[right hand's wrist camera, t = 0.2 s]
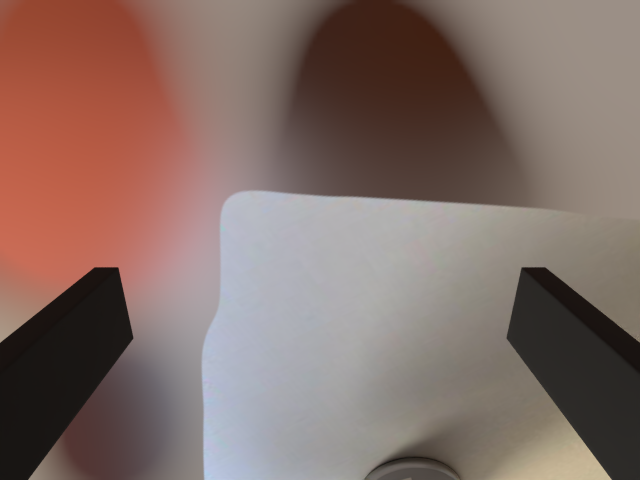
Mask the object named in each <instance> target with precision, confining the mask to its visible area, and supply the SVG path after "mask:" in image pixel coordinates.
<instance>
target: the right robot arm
mask: <svg viewBox="0 0 640 480" xmlns="http://www.w3.org/2000/svg"><path fill="white" fill-rule="evenodd" d="M132 340H133V334H132V329H131V325H130V320H129V315H128V311H127V306H126V301H125V297H124V292H123V287H122V283H121V278H120V273H119V269H118V267H95V268H93V269H92V270H91V271H90V272H88V273H87V274H86V275H85V276H83V277H82V278H81V279H80V280H78V281H77V282H76V283H75V284H73V285H72V286H71V287H70V288H68V289H67V290H66V291H65V292H63V293H62V294H61V295H60V296H58V297H57V298H56V299H55V300H53V301H52V302H51V303H50V304H48V305H47V306H46V307H45V308H43V309H42V310H41V311H40V312H38V313H37V314H36V315H34V316H33V317H32V318H31V319H29V320H28V321H27V322H26V323H24V324H23V325H22V326H21V327H19V328H18V329H17V330H16V331H14V332H13V333H12V334H11V335H9V336H8V337H7V338H6V339H4V340H3V341H2V342H1V343H0V480H28V479H29V478H30V476H31V475H32V474H33V472H34V471H35V470H36V468H37V467H38V466H39V464H40V463H41V462H42V460H43V459H44V458H45V456H46V455H47V454H48V452H49V451H50V450H51V448H52V447H53V446H54V444H55V443H56V441H57V440H58V439H59V438H60V436H61V435H62V433H63V432H64V431H65V429H66V428H67V427H68V425H69V424H70V423H71V421H72V420H73V419H74V417H75V416H76V415H77V413H78V412H79V411H80V409H81V408H82V407H83V405H84V404H85V403H86V401H87V400H88V399H89V397H90V396H91V395H92V393H93V392H94V391H95V389H96V388H97V386H98V385H99V384H100V382H101V381H102V380H103V378H104V377H105V376H106V374H107V373H108V372H109V370H110V369H111V368H112V366H113V365H114V364H115V362H116V361H117V360H118V358H119V357H120V356H121V354H122V353H123V352H124V350H125V349H126V348H127V346H128V345H129V343H130V342H131V341H132ZM507 340H508V341H509V342H510V344H511V345H512V346H513V348H514V349H515V350H516V352H517V353H518V354H519V356H520V357H521V358H522V360H523V361H524V362H525V364H526V365H527V366H528V368H529V369H530V370H531V372H532V373H533V374H534V376H535V377H536V378H537V380H538V381H539V382H540V384H541V385H542V386H543V388H544V389H545V391H546V392H547V393H548V395H549V396H550V397H551V399H552V400H553V401H554V403H555V404H556V405H557V407H558V408H559V409H560V411H561V412H562V413H563V415H564V416H565V417H566V419H567V420H568V421H569V423H570V424H571V425H572V427H573V428H574V429H575V431H576V432H577V433H578V435H579V436H580V438H581V439H582V440H583V442H584V443H585V444H586V446H587V447H588V448H589V450H590V451H591V452H592V454H593V455H594V456H595V458H596V459H597V460H598V462H599V463H600V464H601V466H602V467H603V468H604V470H605V471H606V472H607V474H608V475H609V476H610V478H611V479H612V480H640V343H639V342H638V341H637V340H636V339H634V338H633V337H632V336H631V335H629V334H628V333H627V332H626V331H624V330H623V329H622V328H621V327H619V326H618V325H617V324H616V323H614V322H613V321H612V320H611V319H609V318H608V317H607V316H606V315H604V314H603V313H602V312H601V311H599V310H598V309H597V308H595V307H594V306H593V305H592V304H590V303H589V302H588V301H587V300H585V299H584V298H583V297H582V296H580V295H579V294H578V293H577V292H575V291H574V290H573V289H572V288H570V287H569V286H568V285H567V284H565V283H564V282H563V281H562V280H560V279H559V278H558V277H557V276H555V275H554V274H553V273H552V272H550V271H549V270H548V269H547V268H545V267H522V269H521V273H520V278H519V283H518V287H517V292H516V297H515V301H514V306H513V311H512V315H511V320H510V325H509V329H508V334H507ZM365 480H460V479H459V477H458V475H457V474H456V473H455V472H454V471H453V470H452V469H451V468H449V467H448V466H446V465H444V464H442V463H440V462H438V461H435V460H431V459H426V458H404V459H399V460H395V461H392V462H389V463H386V464H384V465H382V466H380V467H378V468H377V469H375V470H374V471H372V472H371V473H370V474H369V475H368V476H367V477H366V478H365Z"/></svg>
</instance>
